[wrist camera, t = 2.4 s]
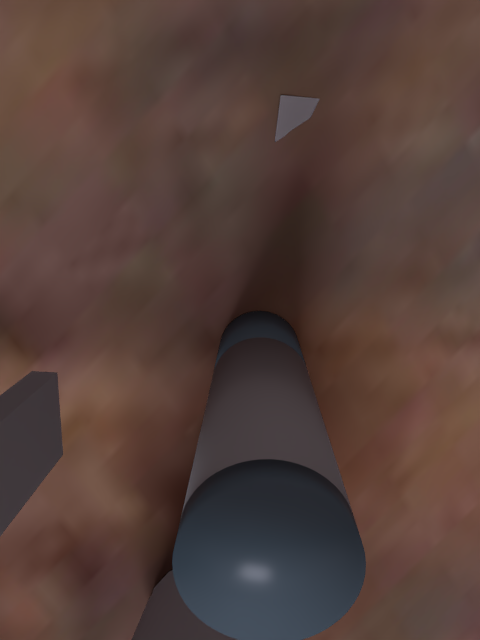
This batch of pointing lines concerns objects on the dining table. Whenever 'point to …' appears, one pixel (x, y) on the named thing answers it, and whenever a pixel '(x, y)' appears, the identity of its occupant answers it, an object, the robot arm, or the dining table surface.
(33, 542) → the dining table surface
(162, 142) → the dining table surface
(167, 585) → the foam cup
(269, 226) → the dining table surface
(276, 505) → the cylinder
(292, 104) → the small grey pieces
